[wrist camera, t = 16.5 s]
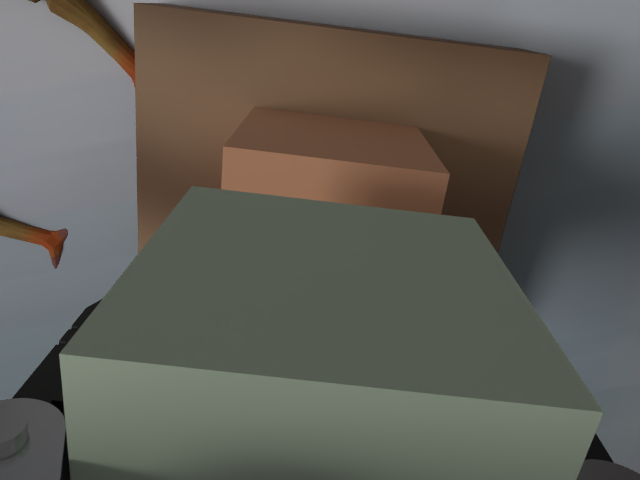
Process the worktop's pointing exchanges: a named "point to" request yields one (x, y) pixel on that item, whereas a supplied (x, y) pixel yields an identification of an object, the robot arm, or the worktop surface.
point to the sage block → (319, 353)
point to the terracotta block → (334, 161)
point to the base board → (325, 100)
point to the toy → (77, 11)
